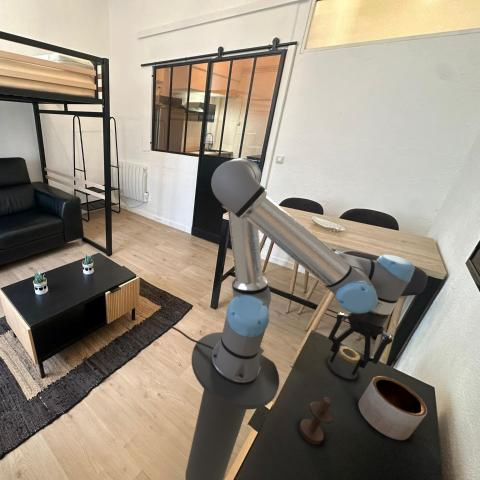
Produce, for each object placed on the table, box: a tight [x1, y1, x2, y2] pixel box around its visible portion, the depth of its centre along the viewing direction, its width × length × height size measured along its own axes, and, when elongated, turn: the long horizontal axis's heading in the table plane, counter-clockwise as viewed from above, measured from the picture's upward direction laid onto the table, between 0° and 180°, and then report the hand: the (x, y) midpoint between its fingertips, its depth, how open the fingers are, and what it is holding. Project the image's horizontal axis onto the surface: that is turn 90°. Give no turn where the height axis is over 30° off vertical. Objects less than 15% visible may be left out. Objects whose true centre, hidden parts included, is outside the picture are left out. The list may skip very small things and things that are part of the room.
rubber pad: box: [327, 356, 358, 381], centre depth 81 cm, size 8×8×1 cm
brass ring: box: [337, 345, 361, 364], centre depth 78 cm, size 5×5×1 cm
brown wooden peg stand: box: [298, 396, 334, 446], centre depth 60 cm, size 5×5×12 cm
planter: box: [358, 375, 428, 441], centre depth 65 cm, size 11×11×10 cm
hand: (342, 365), depth 81 cm, fingers closed on brass ring, 5 cm apart
